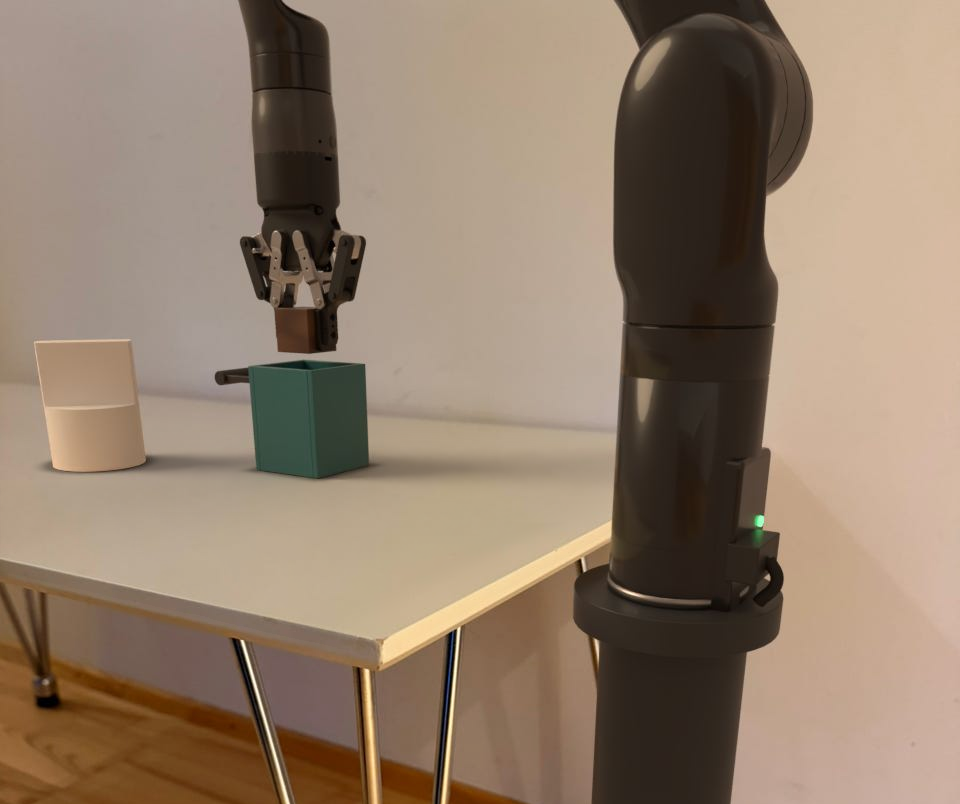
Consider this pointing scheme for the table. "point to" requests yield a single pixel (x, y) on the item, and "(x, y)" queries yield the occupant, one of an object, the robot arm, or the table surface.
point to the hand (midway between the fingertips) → (307, 348)
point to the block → (296, 330)
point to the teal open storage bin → (306, 415)
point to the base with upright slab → (91, 404)
